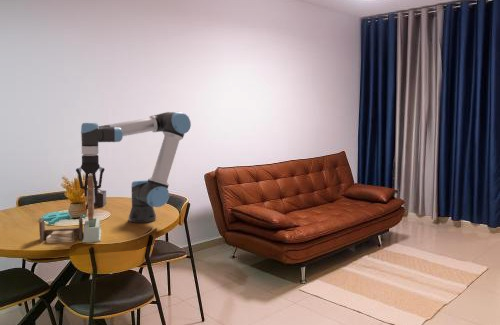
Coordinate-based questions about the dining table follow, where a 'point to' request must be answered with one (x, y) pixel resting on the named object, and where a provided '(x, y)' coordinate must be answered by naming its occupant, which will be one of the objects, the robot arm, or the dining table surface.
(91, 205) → the sheet
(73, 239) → the offcut stack
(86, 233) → the holder
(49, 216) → the teal napkin
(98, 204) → the black bag
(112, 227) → the dining table surface
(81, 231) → the rack
